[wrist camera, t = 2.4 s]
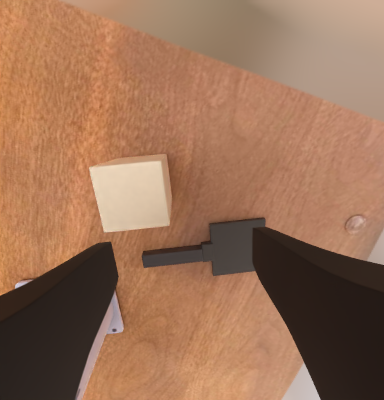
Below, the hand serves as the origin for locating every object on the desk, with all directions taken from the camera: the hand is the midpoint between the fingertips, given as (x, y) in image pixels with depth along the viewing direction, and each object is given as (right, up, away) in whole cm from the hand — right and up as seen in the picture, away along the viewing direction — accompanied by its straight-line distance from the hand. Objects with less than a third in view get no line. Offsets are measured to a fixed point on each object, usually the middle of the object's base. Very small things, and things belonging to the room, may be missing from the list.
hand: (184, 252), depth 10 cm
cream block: (-4, +5, +8) cm, 10 cm away
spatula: (+2, -3, +11) cm, 11 cm away
